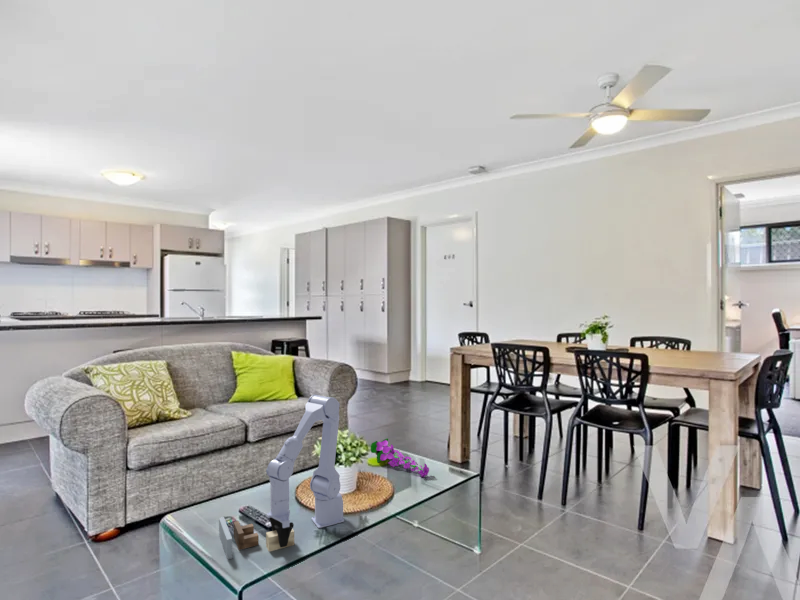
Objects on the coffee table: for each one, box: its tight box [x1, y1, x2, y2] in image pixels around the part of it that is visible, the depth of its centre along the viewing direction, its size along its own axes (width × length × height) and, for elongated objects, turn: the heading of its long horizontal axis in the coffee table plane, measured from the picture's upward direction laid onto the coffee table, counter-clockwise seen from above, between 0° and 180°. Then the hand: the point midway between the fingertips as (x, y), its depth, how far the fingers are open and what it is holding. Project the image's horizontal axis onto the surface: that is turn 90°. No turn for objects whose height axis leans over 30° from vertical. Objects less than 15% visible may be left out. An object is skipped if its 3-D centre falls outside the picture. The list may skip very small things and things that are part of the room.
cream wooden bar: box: [265, 528, 295, 552], centre depth 149 cm, size 8×4×4 cm, turn 119°
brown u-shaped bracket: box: [233, 520, 260, 551], centre depth 152 cm, size 6×9×5 cm, turn 29°
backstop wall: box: [218, 516, 233, 560], centre depth 148 cm, size 2×16×6 cm, turn 29°
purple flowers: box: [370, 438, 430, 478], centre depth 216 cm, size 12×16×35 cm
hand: (280, 540), depth 149 cm, fingers open, 7 cm apart
